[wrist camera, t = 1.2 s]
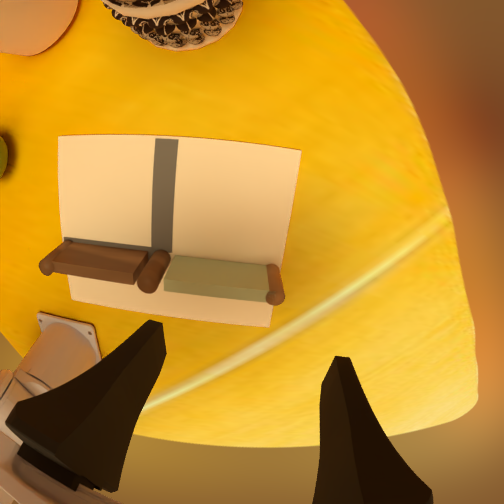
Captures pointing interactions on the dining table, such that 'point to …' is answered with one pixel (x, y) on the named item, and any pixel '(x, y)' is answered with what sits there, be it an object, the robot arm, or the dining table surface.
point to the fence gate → (225, 279)
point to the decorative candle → (177, 20)
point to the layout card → (176, 212)
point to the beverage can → (33, 24)
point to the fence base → (108, 264)
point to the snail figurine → (3, 156)
